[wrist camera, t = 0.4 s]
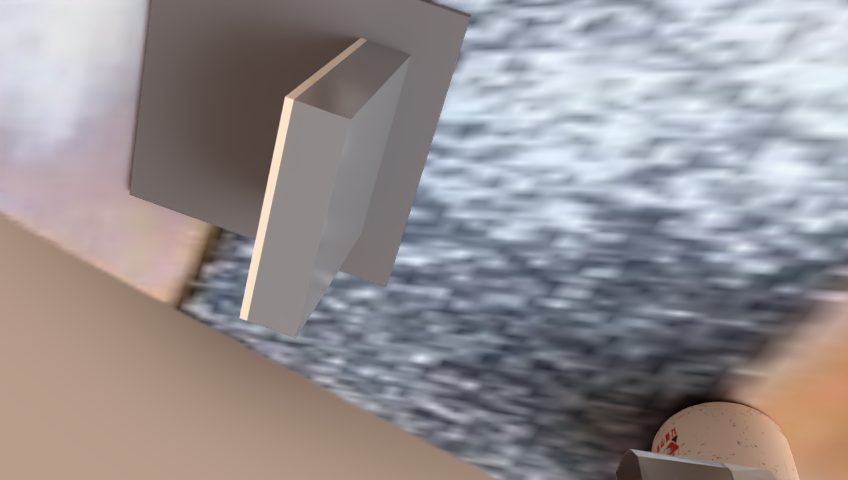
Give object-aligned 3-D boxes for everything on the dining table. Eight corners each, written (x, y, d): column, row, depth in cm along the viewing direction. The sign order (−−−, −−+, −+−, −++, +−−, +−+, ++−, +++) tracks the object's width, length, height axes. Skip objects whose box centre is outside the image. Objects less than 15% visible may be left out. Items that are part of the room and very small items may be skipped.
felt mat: (166, -89, 44) (160, -88, 44) (471, 15, 43) (469, 17, 43) (134, 191, 53) (129, 194, 52) (388, 282, 52) (385, 286, 51)
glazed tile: (360, 37, 44) (284, 96, 34) (411, 55, 44) (350, 119, 34) (315, 219, 50) (239, 317, 40) (360, 235, 50) (295, 338, 39)
